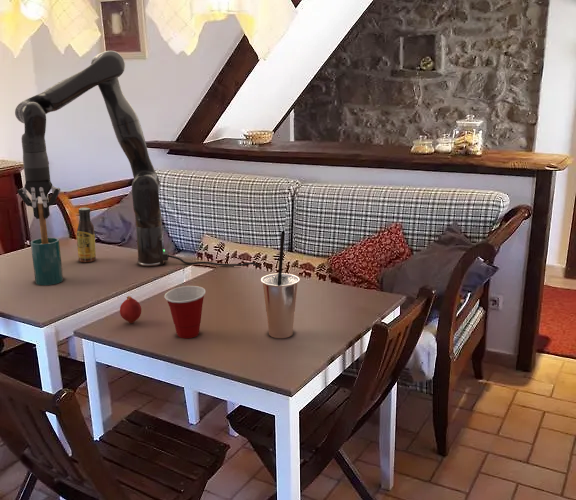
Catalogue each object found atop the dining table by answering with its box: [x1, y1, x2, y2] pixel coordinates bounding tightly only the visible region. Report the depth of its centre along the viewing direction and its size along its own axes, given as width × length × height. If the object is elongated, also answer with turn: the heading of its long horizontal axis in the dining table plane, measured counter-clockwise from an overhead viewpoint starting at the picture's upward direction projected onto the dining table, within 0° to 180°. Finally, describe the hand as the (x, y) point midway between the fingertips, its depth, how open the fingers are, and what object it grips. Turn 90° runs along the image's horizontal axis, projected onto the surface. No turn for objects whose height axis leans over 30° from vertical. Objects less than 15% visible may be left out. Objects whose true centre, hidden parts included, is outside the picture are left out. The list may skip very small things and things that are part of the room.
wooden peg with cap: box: [37, 202, 49, 244], centre depth 211 cm, size 5×5×20 cm
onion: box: [119, 295, 142, 324], centre depth 178 cm, size 6×6×8 cm
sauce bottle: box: [76, 207, 97, 263], centre depth 235 cm, size 7×6×20 cm
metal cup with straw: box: [260, 230, 301, 339], centre depth 166 cm, size 11×11×30 cm
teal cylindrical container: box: [30, 237, 64, 286], centre depth 213 cm, size 9×9×14 cm
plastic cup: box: [163, 285, 206, 339], centre depth 169 cm, size 11×11×12 cm
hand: (42, 218), depth 209 cm, fingers closed on wooden peg with cap
